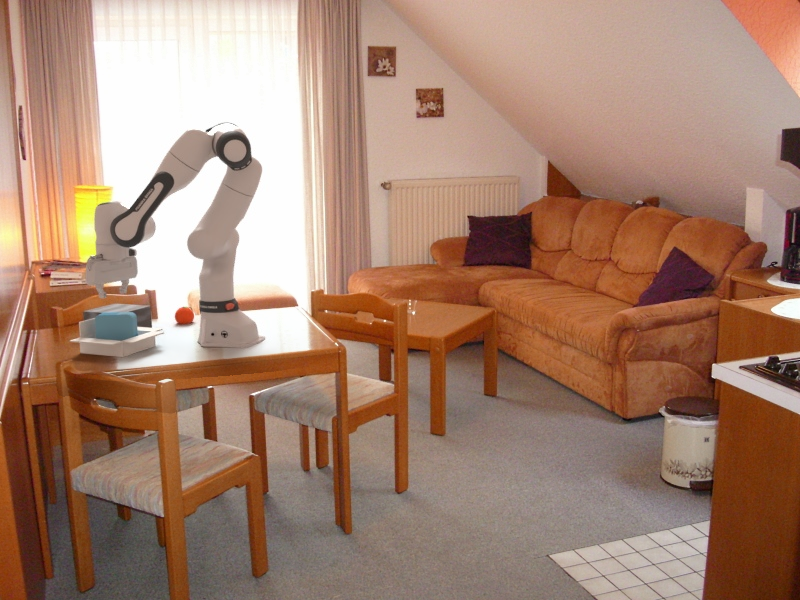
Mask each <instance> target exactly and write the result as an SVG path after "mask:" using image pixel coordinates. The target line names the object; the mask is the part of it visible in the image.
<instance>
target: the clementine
mask: <svg viewBox="0 0 800 600" xmlns="http://www.w3.org/2000/svg"><path fill="white" fill-rule="evenodd" d="M174 318H175V319H174V320H175V322H176V323H177V324H178V325H188V324H187V323H189V324H192V323H193V322H194V319H195V313H194V310H193V308H192V307H190V306H182V307H178V308H177V310H176V311H175V313H174ZM191 322H192V323H191Z"/></svg>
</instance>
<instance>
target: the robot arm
mask: <svg viewBox="0 0 800 600" xmlns="http://www.w3.org/2000/svg"><path fill="white" fill-rule="evenodd" d="M216 157H218V159H219V160H220V161H221V162H222V163H224V164H225V165H226V167H227V169H226V173H225V174H224V176H223V178H222V180H221V183H220V185H219V187H218V189H217V191H216V194H215V195H214V199H213V200H212V202H211V204H210V206H209V207H208V208H207V210H206V212H205V213H204V214H203V216H202V217H201V219H200V221H199V222H198V224H197V225H196V227H195V229H194V230H193V231H192V232H191V233H190V234H189V236H188V237H187V241H186V243H187V245H186V246H187V250H188V252H189V254H191V255H192V256H193V257H194V258H196V259H199V260H202V267H201V269H200V273H199V276H198V281H199V282H198V283H199V285H198V286H199V300H198V309H199V313H200V324H199V325H200V328H199V333H198V339H197V343H198V344H200V346H201V347H204V348H205V347H210V348H213V347H214V348H240V347H243V348H248V347H252V346H255V345H257V344H260V343H261V342H263V341H264V340H265V339H266V336H264V335H259V330H258V326H257V323H256V321H255V320H253V319H252V318H250V317H249V316H248V315H247V314H246V313H244V312H243V311H242V310H240V305H242V302H243V301H242V300H239V301H237V300H236V299H237V298H236V297H235V287H234V283H235V282H234V271H235V270H234V269H235V264H236V257H237V256H236V255H237V248H238V246H239V242H240V235H239V232H238V230H237V229H236V228H237V227H238V226H239V224H240V223H241V222H242V220H243V219H244V218H245V216H246V214H247V212H248V210H249V207H250V205H251V203H252V200H253V199H254V197H255V194H256V192H257V190H258V187H259V184H260V182H261V181H260V180H261V177H262V173H263V166H262V164H261V163H260V161H259V160H258V159H257V158H255V157H253V155H252V146H251V143H250V140H249V138H248V136H247V134H245V132H244V131H243V130H242V129H241V128H240V127H239V126H238V125H236V124H235V123H232V122H227V121H226V122H225V121H223V122H220V123H218V124H216V125H214V126H211V127H210V128H209V127H208V128H207V129H206V130H204V129H201V128H199V127H190V128H188V129H187V130H185V132H184V133H182V134H181V135H180V137H179V138H178V139H177V140H176V141H175V142H174V143H173V145H172V146H171V147H170V149H169V150H168V151H167V153H166V155H165V156H164V158H163V159H162V161H161V162H160V163H159V166H158V168H157V169H156V171H155V173H154V175H152V178H151V179H150V181H149V183H148V184H147V185H146V186H145V188H144V190H143V191H142V192H141V193H140V194H139V196H138V197H137V199H136V200H135V201H134V202H133V204H132V205H130V207H129V206H127V205H125V204H124V203H122V202H121V201H119V200H113V201H112V200H111V201H108V202H101V203H99V204H97V205H96V207H95V209H94V217H93V218H94V232H95V235H96V239H95V254H94V255H90V256H89V257H88V259H87V260H86V266H85V284H86V285H87V286H92V287H93V286H95V290H96V291H97V293H98V298H99V299H106V298H107V296H108V295H107V292H106V291H105V290H104V289H103V288H105V285H106V284H110V283H115V282H120V283H121V286H120V287H119V294H121V295H124V294H127V292H128V289H127V288H128V286H129V284H130V280H131V279H135V278H137V276H138V260H137V252H138V251H137V250H136V249H135V248H134V247H135V246H137V245H139V244H141V243H144V242H146V241H148V240H149V239H151V238H152V237H154V234H155V232H156V226H157V225H156V223H155V220H154V219H153V217H152V216H153V215H154V213H155V212H156V211H157V210H158V208H159V207H160V206H161V204H162V203H163V202H164V201H165V200H166V199H167V198H168V197H170V196H172V195H173V194H176V193H177V192H179V191H181V190H183V189H185V188H187V186H188V185H190V183H192V182H193V181H194V180H195V179H196V178H197V176H198V174H200V172H201V171H202V169H203V168H204V166H205V164H207V162H209V160H211V159H213V158H216Z"/></svg>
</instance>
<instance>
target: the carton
mask: <svg viewBox="0 0 800 600" xmlns="http://www.w3.org/2000/svg"><path fill="white" fill-rule="evenodd" d="M137 329H138V336H136V337H132V338H129V339H126V340H123V341H117V340H105V339H96V329H95V318H93V319H89V320H85V321H84V320H82V321H79V322H78V331H79V337H77V338H74V339H70V340H69V342H70V343H79V351H80V354H85V355H95V356H96V355H97V356H108V357H118V358H125V357H129V356H130V355H134V354H136V353H139V352H143V351H145V350H148V349H151V348H153V347H156V345H157V344H156V337H157V336H159V335H164V334H165V331H163V330H164V329H163V328H157V327H152V328H147V327H137Z"/></svg>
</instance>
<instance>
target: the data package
mask: <svg viewBox="0 0 800 600" xmlns="http://www.w3.org/2000/svg"><path fill="white" fill-rule="evenodd" d="M95 329H96V339H105V340H117V341H123V340H126V339H129V338H132V337H136V336H138V329H137V316H136V314H135V313H133V312H112V313H101V314H99V315H98V316H96V317H95Z"/></svg>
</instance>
